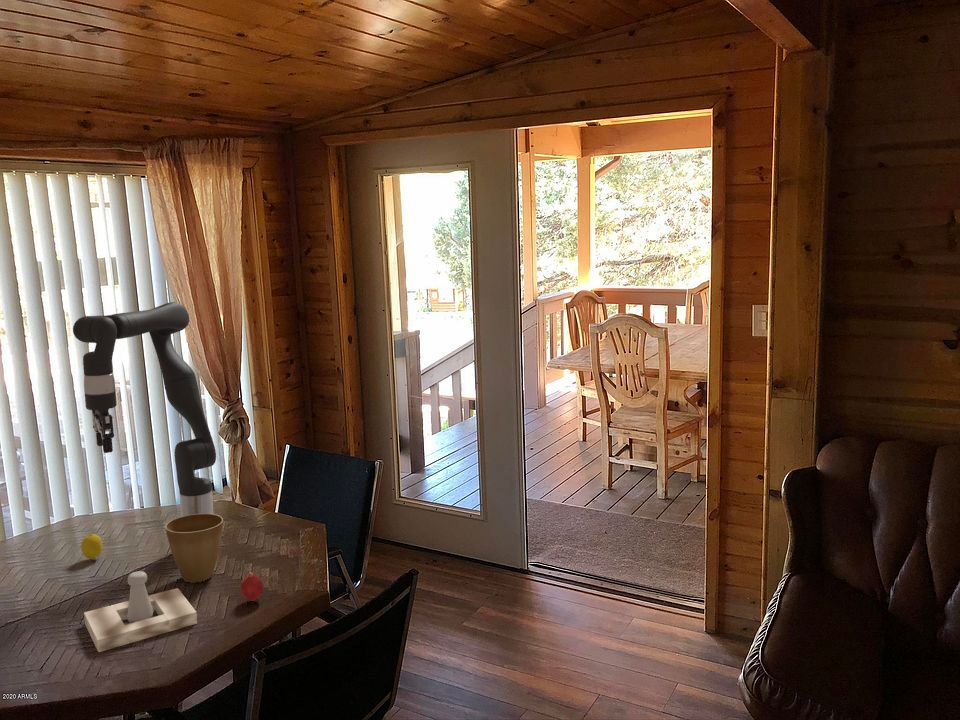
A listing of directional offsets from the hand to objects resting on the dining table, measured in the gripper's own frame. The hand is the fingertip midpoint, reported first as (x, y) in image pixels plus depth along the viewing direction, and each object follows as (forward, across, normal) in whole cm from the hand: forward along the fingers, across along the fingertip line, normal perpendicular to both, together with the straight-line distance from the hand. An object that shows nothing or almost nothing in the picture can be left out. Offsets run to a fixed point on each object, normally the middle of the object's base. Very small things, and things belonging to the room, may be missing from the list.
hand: (104, 448), depth 208 cm
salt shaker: (+36, -34, +1) cm, 50 cm away
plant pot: (+36, -16, -18) cm, 44 cm away
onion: (+36, -39, -25) cm, 59 cm away
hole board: (+36, -34, +1) cm, 50 cm away
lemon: (+36, +14, +3) cm, 39 cm away
